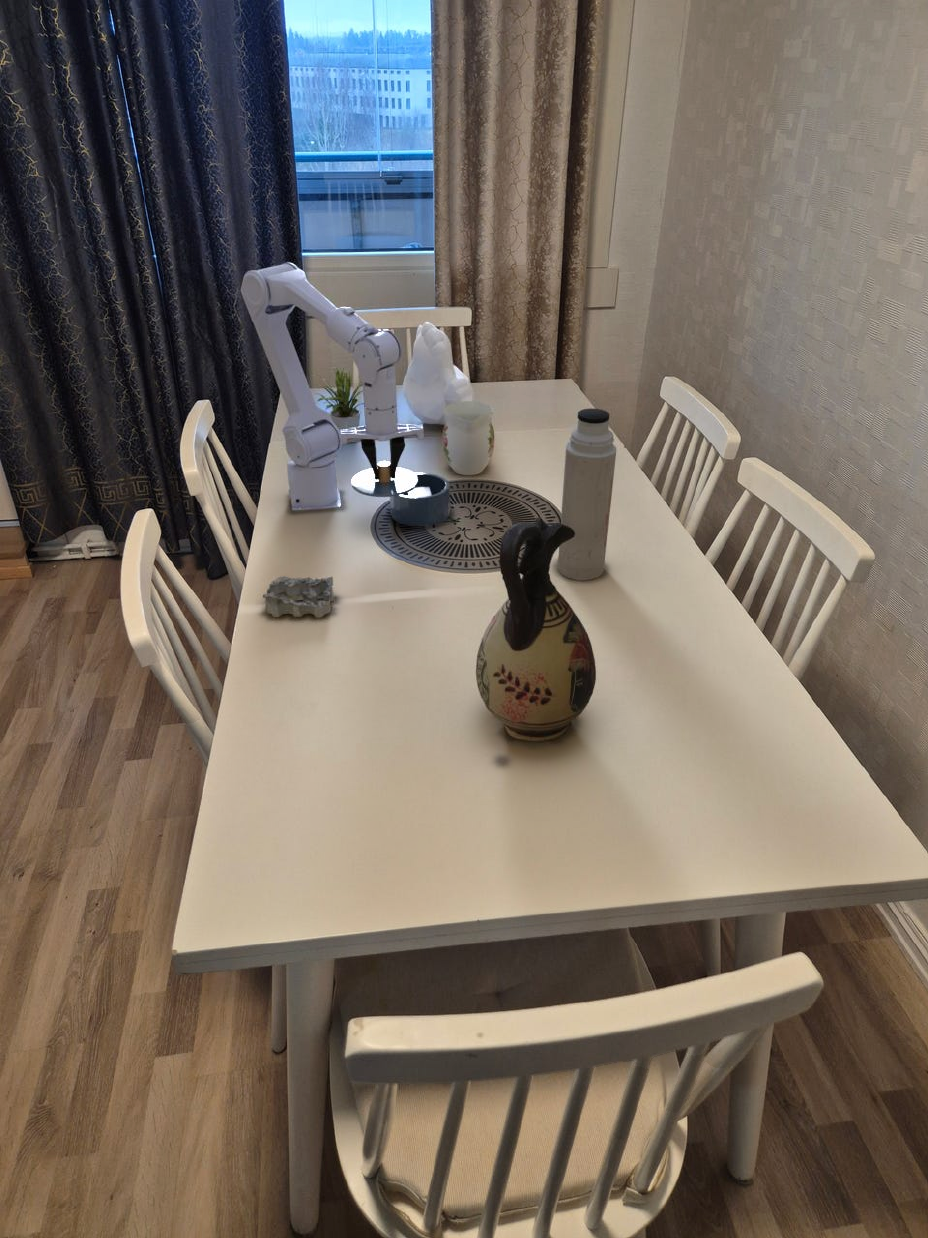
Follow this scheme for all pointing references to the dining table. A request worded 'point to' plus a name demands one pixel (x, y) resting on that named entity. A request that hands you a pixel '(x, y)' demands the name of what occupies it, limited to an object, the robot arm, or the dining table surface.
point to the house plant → (343, 402)
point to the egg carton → (309, 594)
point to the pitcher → (468, 436)
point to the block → (420, 492)
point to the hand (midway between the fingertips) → (384, 477)
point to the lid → (384, 481)
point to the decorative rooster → (434, 377)
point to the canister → (423, 503)
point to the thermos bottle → (587, 495)
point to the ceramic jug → (534, 642)
